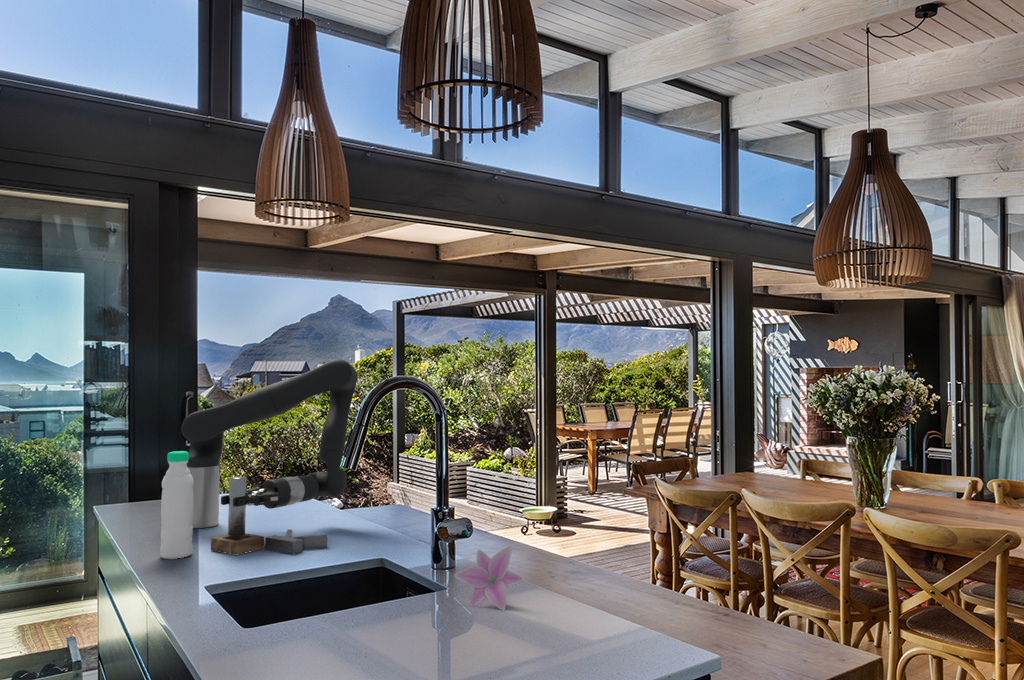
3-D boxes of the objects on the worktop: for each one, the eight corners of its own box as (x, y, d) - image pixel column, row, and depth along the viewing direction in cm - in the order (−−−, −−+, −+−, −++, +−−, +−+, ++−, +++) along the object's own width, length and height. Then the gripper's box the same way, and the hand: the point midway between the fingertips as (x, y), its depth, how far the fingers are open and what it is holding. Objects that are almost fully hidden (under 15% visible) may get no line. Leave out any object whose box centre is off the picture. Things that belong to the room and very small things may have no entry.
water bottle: (169, 561, 169) (171, 453, 171) (154, 557, 174) (156, 452, 175) (198, 555, 175) (199, 451, 176) (182, 551, 179) (184, 449, 181)
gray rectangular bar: (224, 534, 180) (225, 478, 181) (238, 531, 184) (239, 476, 184) (235, 536, 178) (236, 479, 179) (248, 533, 182) (249, 477, 182)
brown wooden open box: (210, 550, 180) (211, 538, 180) (237, 543, 187) (238, 532, 187) (237, 555, 175) (237, 542, 175) (264, 548, 182) (264, 536, 182)
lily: (449, 603, 140) (445, 566, 136) (490, 569, 148) (487, 532, 144) (495, 635, 133) (493, 597, 129) (535, 597, 141) (534, 560, 137)
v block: (259, 548, 182) (259, 536, 182) (290, 540, 190) (290, 529, 190) (299, 555, 174) (299, 542, 175) (329, 547, 183) (329, 535, 183)
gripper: (265, 475, 198) (209, 483, 183) (301, 480, 190) (247, 488, 176) (264, 503, 197) (209, 513, 183) (301, 508, 190) (246, 520, 175)
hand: (228, 501), depth 179 cm, fingers closed on gray rectangular bar, 4 cm apart
